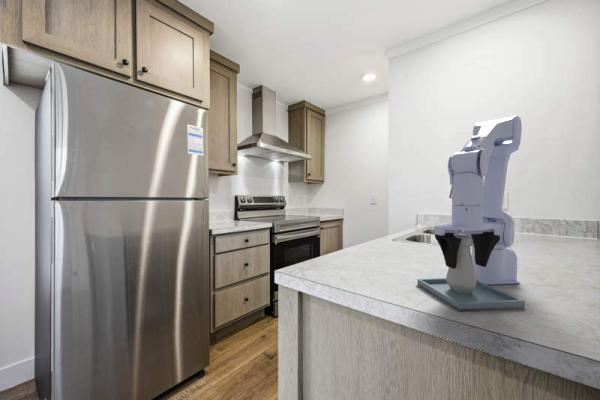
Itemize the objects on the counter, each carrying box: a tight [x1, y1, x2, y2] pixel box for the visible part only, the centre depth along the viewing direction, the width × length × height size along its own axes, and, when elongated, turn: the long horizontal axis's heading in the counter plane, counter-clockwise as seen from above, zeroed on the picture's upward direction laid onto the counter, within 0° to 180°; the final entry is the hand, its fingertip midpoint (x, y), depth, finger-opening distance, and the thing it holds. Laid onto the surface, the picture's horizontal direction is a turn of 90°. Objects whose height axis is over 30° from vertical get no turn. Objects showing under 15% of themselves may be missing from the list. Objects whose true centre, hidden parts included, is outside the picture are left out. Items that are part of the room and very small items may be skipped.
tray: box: [417, 277, 526, 313], centre depth 55 cm, size 14×14×2 cm
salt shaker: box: [445, 234, 476, 295], centre depth 56 cm, size 6×6×13 cm
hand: (466, 266), depth 55 cm, fingers open, 7 cm apart
